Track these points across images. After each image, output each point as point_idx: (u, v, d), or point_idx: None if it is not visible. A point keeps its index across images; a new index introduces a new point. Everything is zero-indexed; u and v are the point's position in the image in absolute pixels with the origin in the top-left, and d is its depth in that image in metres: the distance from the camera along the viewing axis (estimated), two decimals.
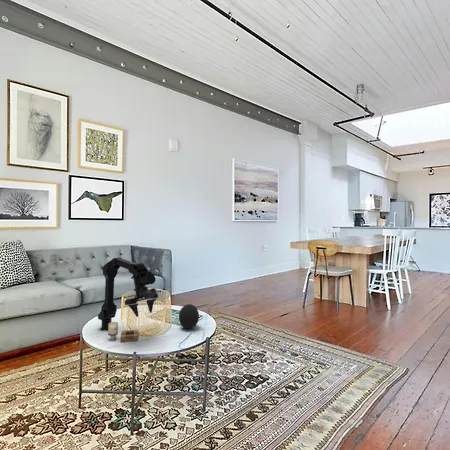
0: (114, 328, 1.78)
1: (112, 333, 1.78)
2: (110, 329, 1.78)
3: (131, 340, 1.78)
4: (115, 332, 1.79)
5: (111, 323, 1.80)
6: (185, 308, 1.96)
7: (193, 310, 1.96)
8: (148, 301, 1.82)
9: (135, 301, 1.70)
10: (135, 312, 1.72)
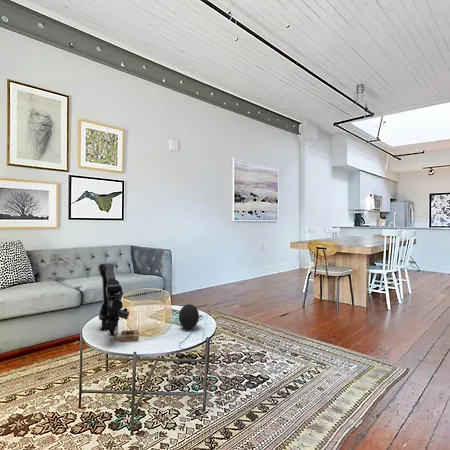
0: None
1: None
2: None
3: (131, 340, 1.78)
4: (115, 332, 1.79)
5: None
6: (185, 308, 1.96)
7: (193, 310, 1.96)
8: None
9: (117, 322, 1.74)
10: (112, 331, 1.77)
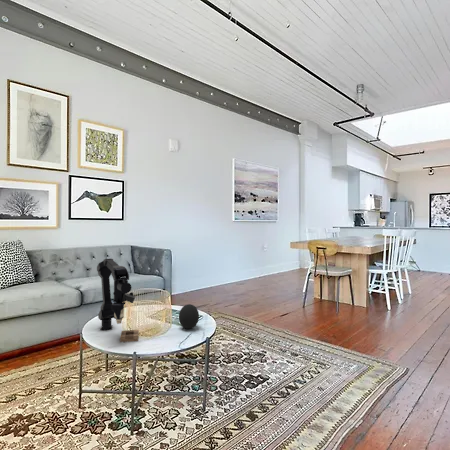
0: None
1: None
2: None
3: (131, 340, 1.78)
4: (121, 316, 1.79)
5: None
6: (185, 308, 1.96)
7: (193, 310, 1.96)
8: None
9: None
10: (118, 315, 1.77)
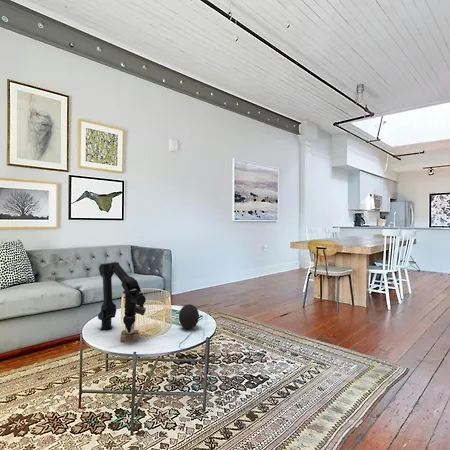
0: None
1: None
2: None
3: (131, 340, 1.78)
4: (132, 331, 1.81)
5: None
6: (185, 308, 1.96)
7: (193, 310, 1.96)
8: None
9: None
10: (129, 328, 1.77)
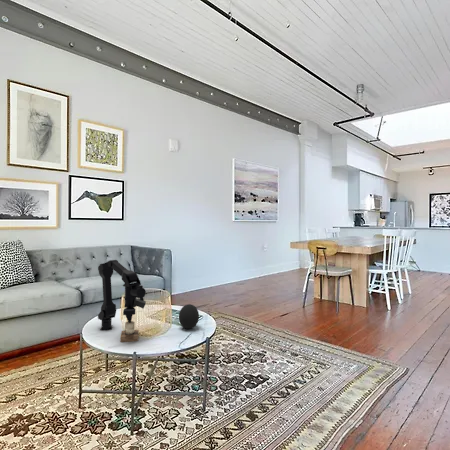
0: (131, 327, 1.80)
1: (129, 332, 1.80)
2: (127, 328, 1.80)
3: (131, 340, 1.78)
4: (132, 331, 1.81)
5: (128, 322, 1.82)
6: (185, 308, 1.96)
7: (193, 310, 1.96)
8: None
9: None
10: (129, 319, 1.81)
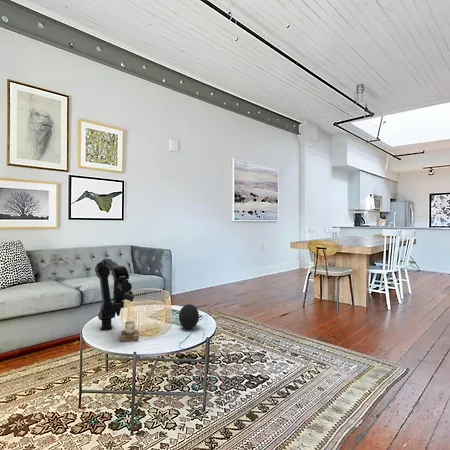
0: (131, 327, 1.80)
1: (129, 332, 1.80)
2: (127, 328, 1.80)
3: (131, 340, 1.78)
4: (132, 331, 1.81)
5: (128, 322, 1.82)
6: (185, 308, 1.96)
7: (193, 310, 1.96)
8: None
9: (123, 304, 1.78)
10: (118, 312, 1.83)
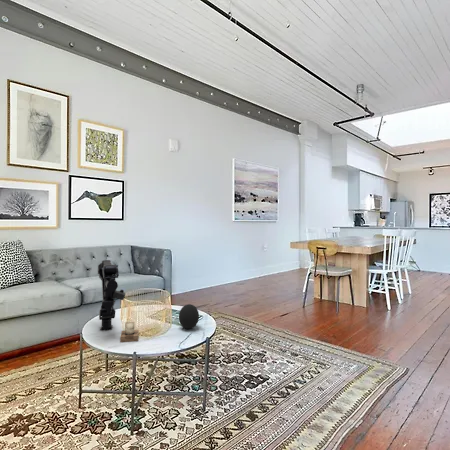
0: (131, 327, 1.80)
1: (129, 332, 1.80)
2: (127, 328, 1.80)
3: (131, 340, 1.78)
4: (132, 331, 1.81)
5: (128, 322, 1.82)
6: (185, 308, 1.96)
7: (193, 310, 1.96)
8: None
9: (114, 302, 1.79)
10: (109, 310, 1.84)
